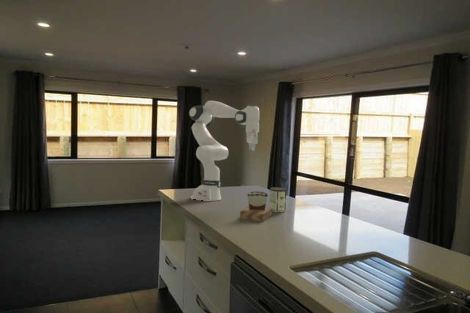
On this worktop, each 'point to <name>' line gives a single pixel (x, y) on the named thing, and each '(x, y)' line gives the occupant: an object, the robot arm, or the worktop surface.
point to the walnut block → (256, 214)
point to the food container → (257, 200)
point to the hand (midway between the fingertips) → (251, 150)
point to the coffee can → (278, 199)
